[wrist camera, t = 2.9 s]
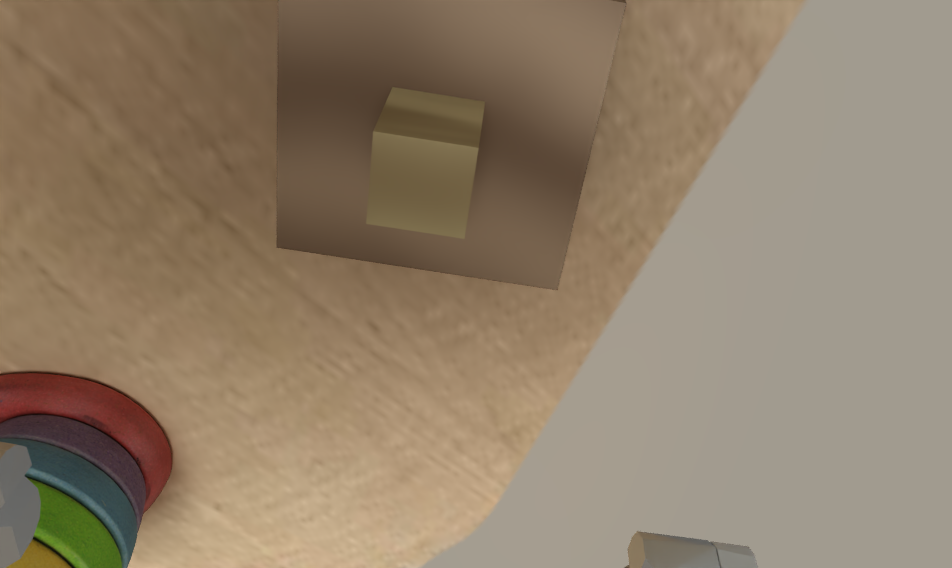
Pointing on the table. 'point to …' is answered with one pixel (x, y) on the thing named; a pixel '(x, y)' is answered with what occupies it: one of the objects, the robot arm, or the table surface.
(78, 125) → the table surface
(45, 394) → the stacking bear
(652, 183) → the table surface
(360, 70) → the lid
